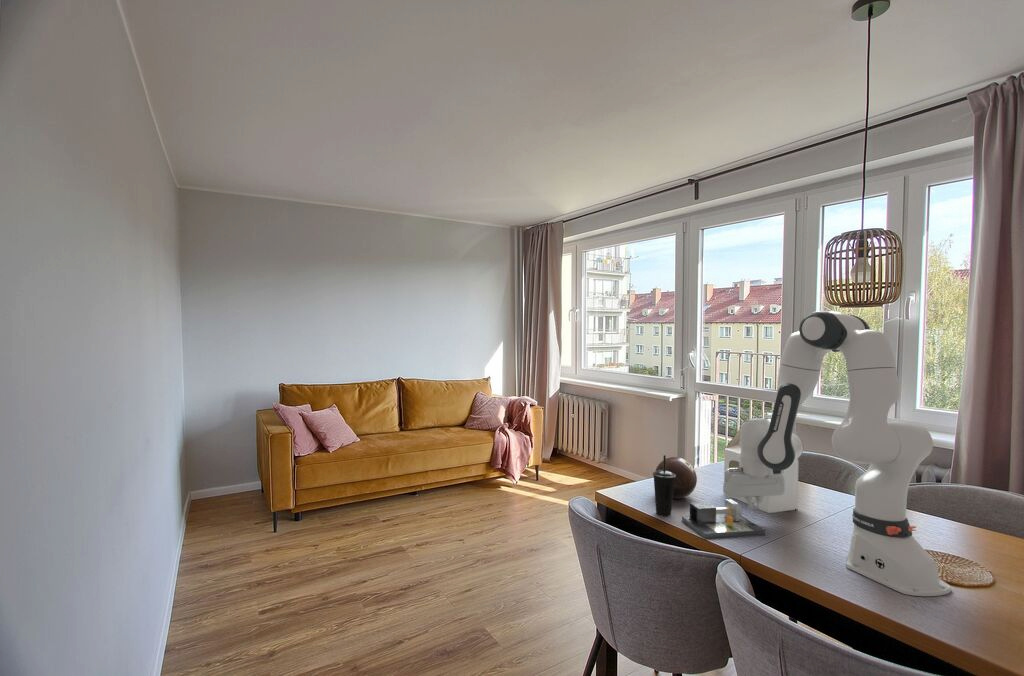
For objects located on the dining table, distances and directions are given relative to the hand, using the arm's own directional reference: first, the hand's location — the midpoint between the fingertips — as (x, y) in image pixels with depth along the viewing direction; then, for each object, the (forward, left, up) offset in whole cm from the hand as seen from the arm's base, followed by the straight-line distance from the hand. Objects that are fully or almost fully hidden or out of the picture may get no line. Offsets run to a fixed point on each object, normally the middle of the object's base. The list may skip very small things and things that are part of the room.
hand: (753, 508), depth 165 cm
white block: (-1, +11, -3) cm, 12 cm away
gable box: (+18, -15, -5) cm, 24 cm away
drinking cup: (+11, +26, -4) cm, 29 cm away
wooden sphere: (+26, +14, -4) cm, 30 cm away
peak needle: (-6, +12, -2) cm, 14 cm away
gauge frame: (-3, +13, -4) cm, 14 cm away
